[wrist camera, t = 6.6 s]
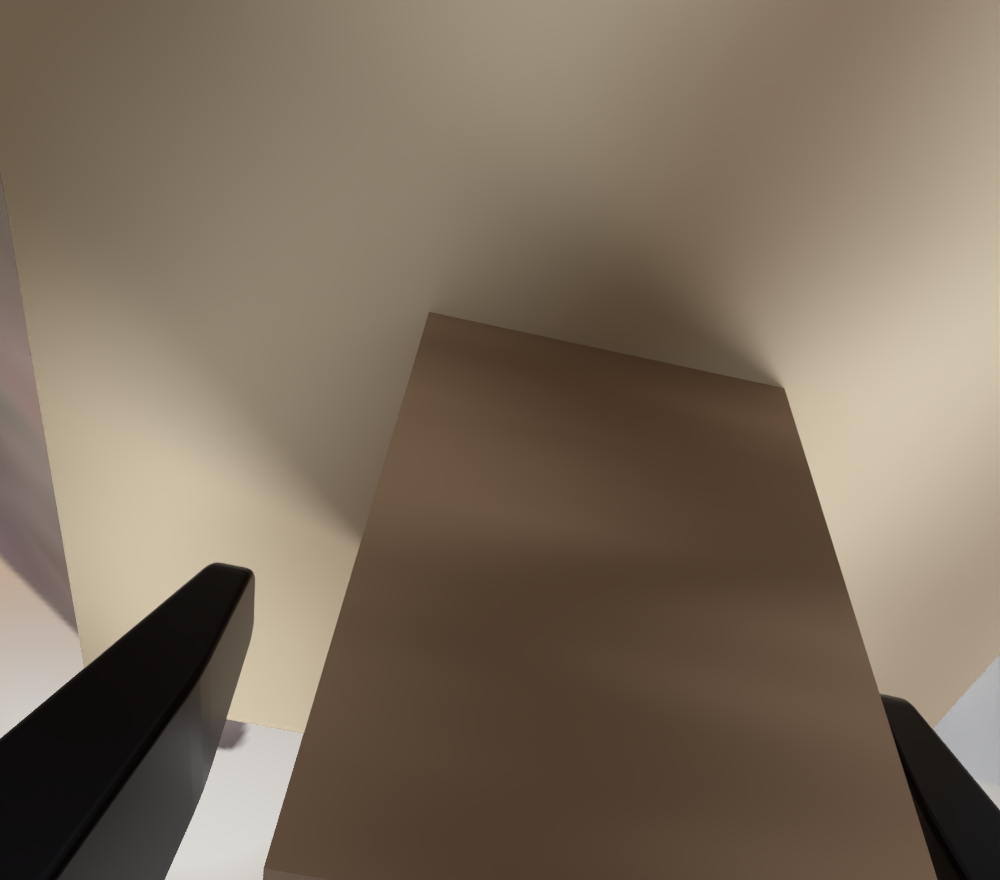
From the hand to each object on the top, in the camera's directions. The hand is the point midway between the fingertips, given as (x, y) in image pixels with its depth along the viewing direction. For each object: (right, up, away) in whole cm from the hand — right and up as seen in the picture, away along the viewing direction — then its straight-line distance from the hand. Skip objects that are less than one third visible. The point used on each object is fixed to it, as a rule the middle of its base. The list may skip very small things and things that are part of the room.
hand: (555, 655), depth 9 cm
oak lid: (0, +2, +3) cm, 3 cm away
